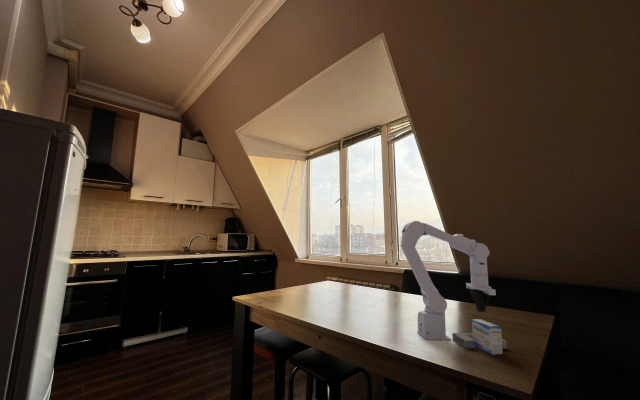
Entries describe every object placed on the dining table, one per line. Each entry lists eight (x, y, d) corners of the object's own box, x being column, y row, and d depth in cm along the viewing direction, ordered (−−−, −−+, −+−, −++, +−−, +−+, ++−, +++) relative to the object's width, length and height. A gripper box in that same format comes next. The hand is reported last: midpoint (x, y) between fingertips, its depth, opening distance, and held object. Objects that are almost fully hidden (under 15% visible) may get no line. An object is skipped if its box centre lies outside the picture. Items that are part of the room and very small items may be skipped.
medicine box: (472, 345, 91) (471, 319, 93) (483, 344, 92) (481, 318, 94) (491, 355, 84) (490, 326, 85) (503, 354, 85) (501, 325, 86)
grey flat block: (464, 348, 88) (464, 340, 89) (452, 340, 95) (452, 333, 96) (506, 348, 89) (506, 340, 89) (492, 340, 96) (491, 333, 97)
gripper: (502, 277, 94) (505, 317, 92) (477, 272, 108) (479, 306, 106) (483, 276, 94) (486, 316, 91) (460, 271, 108) (462, 306, 106)
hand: (481, 311), depth 99 cm, fingers closed
